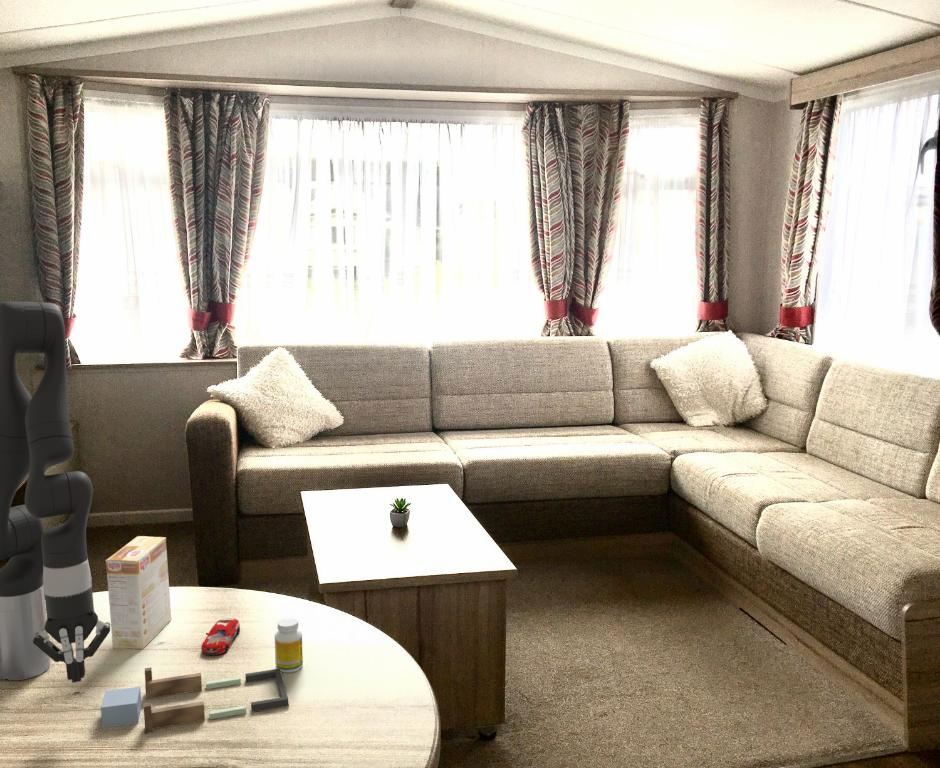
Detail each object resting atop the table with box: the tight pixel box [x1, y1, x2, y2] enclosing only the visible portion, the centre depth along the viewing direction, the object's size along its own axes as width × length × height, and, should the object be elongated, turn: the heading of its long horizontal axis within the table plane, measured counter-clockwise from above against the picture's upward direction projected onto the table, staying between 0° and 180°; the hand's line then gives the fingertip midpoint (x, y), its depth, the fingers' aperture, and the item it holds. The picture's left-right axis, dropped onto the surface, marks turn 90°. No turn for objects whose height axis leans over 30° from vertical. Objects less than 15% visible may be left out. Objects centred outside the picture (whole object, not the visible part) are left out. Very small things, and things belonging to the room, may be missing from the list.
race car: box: [200, 617, 241, 656], centre depth 192 cm, size 13×5×4 cm, turn 176°
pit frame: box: [244, 668, 290, 713], centre depth 171 cm, size 7×12×1 cm, turn 19°
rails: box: [205, 676, 247, 720], centre depth 169 cm, size 6×12×1 cm, turn 19°
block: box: [100, 686, 142, 728], centre depth 163 cm, size 6×6×4 cm
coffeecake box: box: [105, 535, 172, 650], centre depth 195 cm, size 15×7×20 cm, turn 175°
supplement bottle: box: [274, 617, 304, 674], centre depth 180 cm, size 5×5×10 cm
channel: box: [143, 666, 206, 734], centre depth 165 cm, size 10×15×5 cm
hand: (77, 680), depth 159 cm, fingers closed
